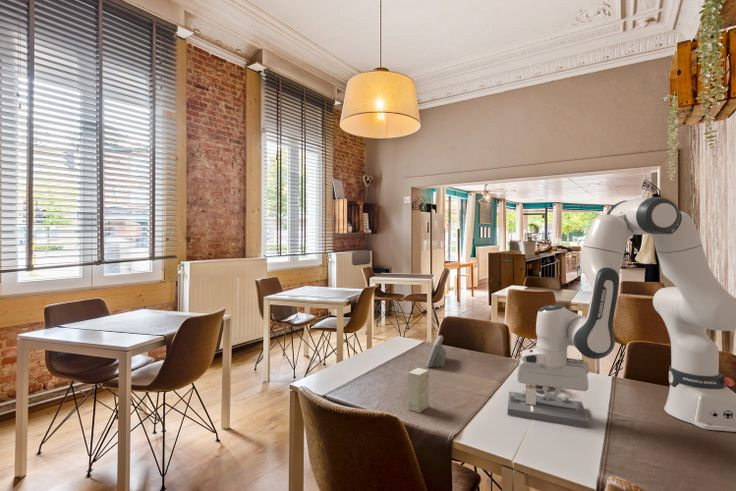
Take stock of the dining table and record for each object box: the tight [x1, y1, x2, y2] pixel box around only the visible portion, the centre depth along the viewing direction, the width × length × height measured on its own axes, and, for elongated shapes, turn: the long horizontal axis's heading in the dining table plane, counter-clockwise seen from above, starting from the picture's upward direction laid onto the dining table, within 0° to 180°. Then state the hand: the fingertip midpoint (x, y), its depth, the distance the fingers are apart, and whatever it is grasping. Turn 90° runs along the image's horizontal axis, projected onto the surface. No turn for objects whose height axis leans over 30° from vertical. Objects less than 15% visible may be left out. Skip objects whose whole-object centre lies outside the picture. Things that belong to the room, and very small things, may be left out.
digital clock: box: [425, 335, 447, 368], centre depth 168 cm, size 16×9×11 cm, turn 150°
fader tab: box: [525, 384, 537, 405], centre depth 123 cm, size 3×4×5 cm
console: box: [507, 390, 589, 429], centre depth 121 cm, size 22×14×4 cm, turn 67°
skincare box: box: [407, 367, 430, 414], centre depth 124 cm, size 6×4×12 cm
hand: (551, 400), depth 121 cm, fingers closed
